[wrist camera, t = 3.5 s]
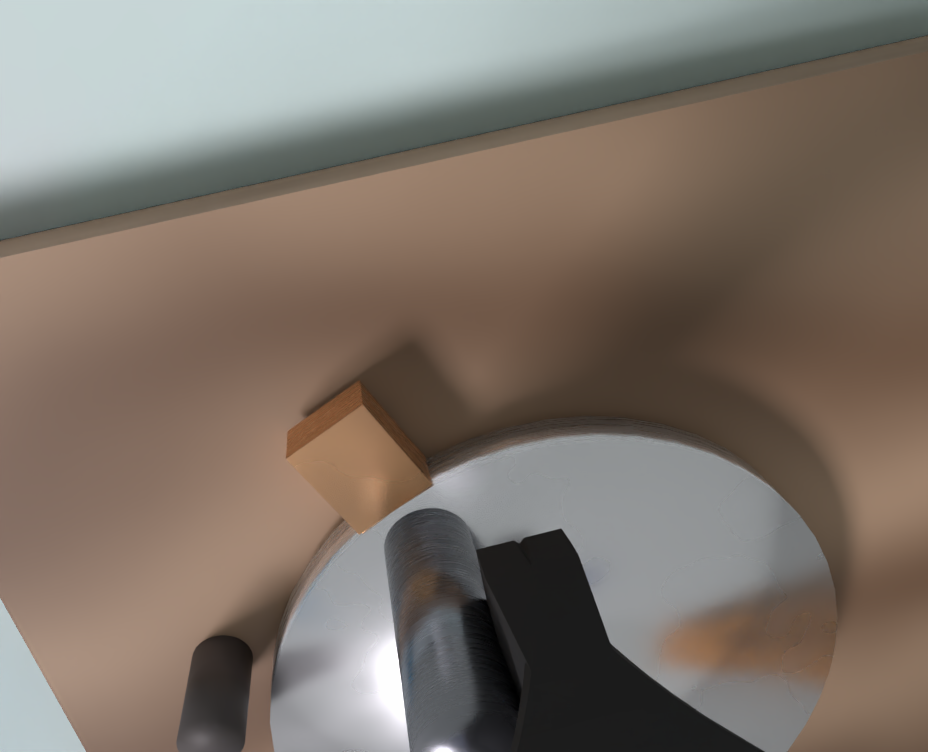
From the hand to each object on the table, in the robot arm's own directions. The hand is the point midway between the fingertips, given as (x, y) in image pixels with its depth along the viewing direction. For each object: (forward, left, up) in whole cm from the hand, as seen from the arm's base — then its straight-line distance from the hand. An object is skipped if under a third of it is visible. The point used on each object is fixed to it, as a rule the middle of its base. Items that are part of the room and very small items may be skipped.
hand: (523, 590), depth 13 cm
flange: (-4, 0, -3) cm, 5 cm away
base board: (-5, -1, -5) cm, 7 cm away
